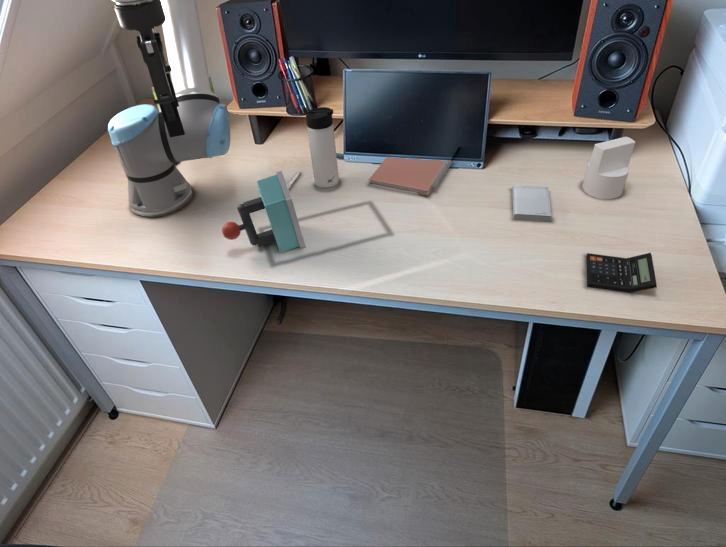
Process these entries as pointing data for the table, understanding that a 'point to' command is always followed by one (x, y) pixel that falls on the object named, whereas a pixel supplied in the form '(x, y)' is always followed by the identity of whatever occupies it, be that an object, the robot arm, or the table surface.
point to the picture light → (292, 180)
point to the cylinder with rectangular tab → (608, 168)
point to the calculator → (620, 272)
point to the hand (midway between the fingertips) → (174, 120)
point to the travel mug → (322, 147)
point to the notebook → (411, 174)
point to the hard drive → (531, 203)
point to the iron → (270, 216)
